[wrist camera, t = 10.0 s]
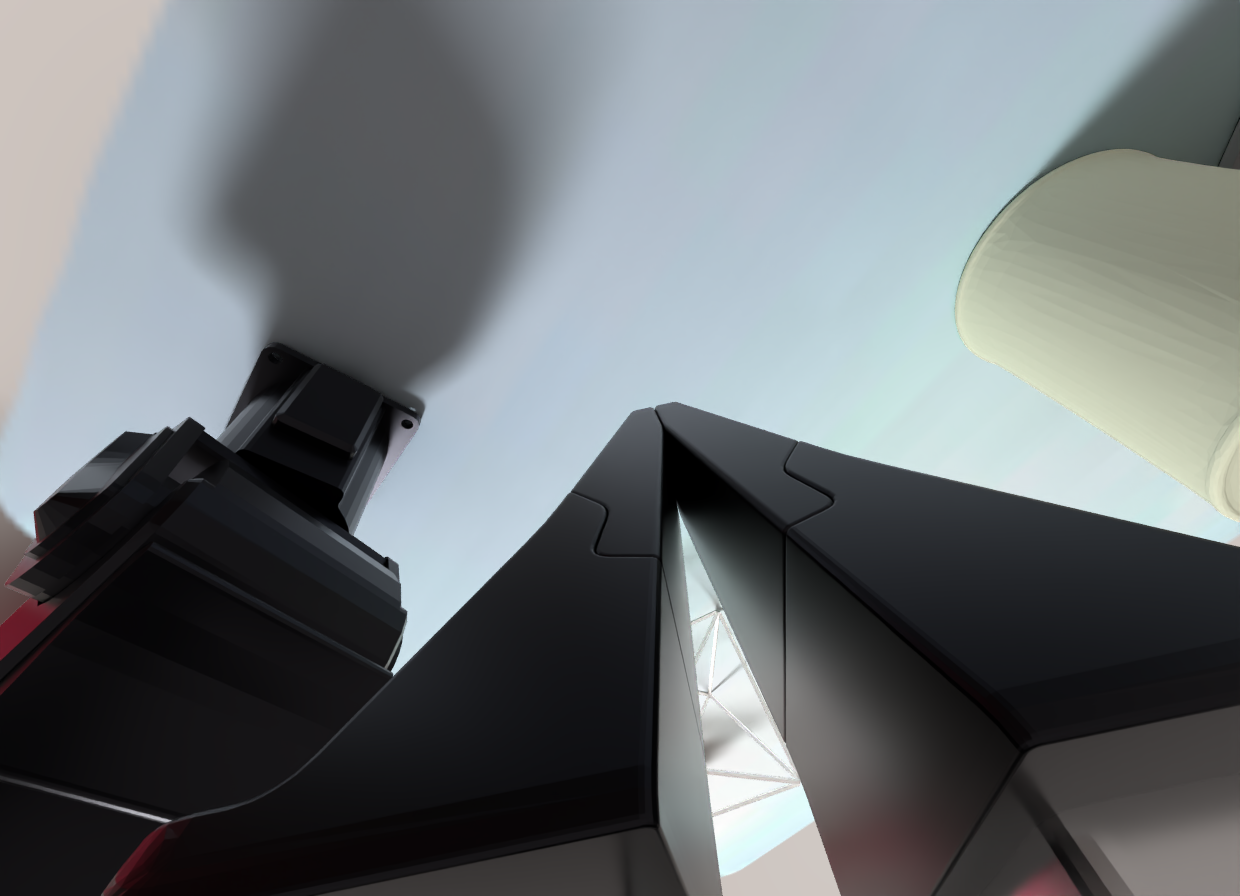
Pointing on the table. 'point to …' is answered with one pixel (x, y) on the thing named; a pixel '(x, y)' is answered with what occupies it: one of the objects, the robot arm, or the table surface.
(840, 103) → the table surface
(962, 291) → the can
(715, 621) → the geometric polyhedron
